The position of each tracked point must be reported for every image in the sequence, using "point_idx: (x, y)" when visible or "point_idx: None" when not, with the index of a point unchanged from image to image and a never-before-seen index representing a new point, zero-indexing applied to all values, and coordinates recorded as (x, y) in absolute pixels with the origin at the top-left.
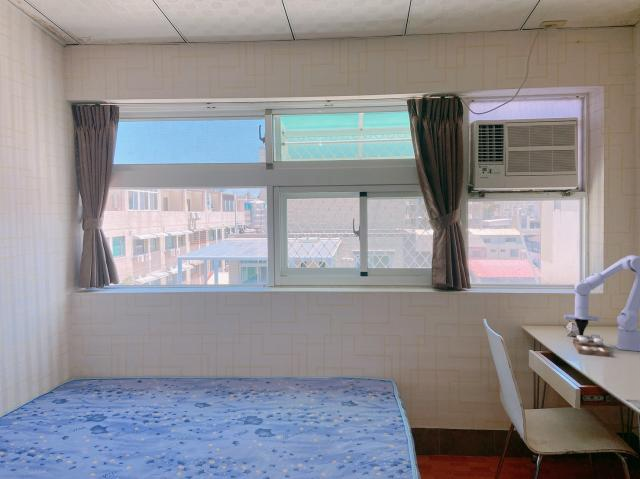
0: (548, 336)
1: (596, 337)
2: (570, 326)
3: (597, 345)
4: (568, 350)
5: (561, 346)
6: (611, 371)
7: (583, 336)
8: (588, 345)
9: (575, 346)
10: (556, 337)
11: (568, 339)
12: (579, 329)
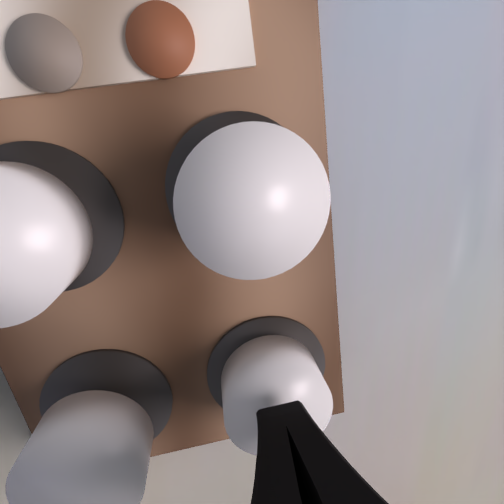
0: (499, 456)
1: (58, 423)
2: None
3: None
4: (398, 9)
5: (449, 170)
6: None
7: (246, 416)
8: (169, 160)
9: None
10: (442, 462)
11: (355, 458)
12: (351, 476)
